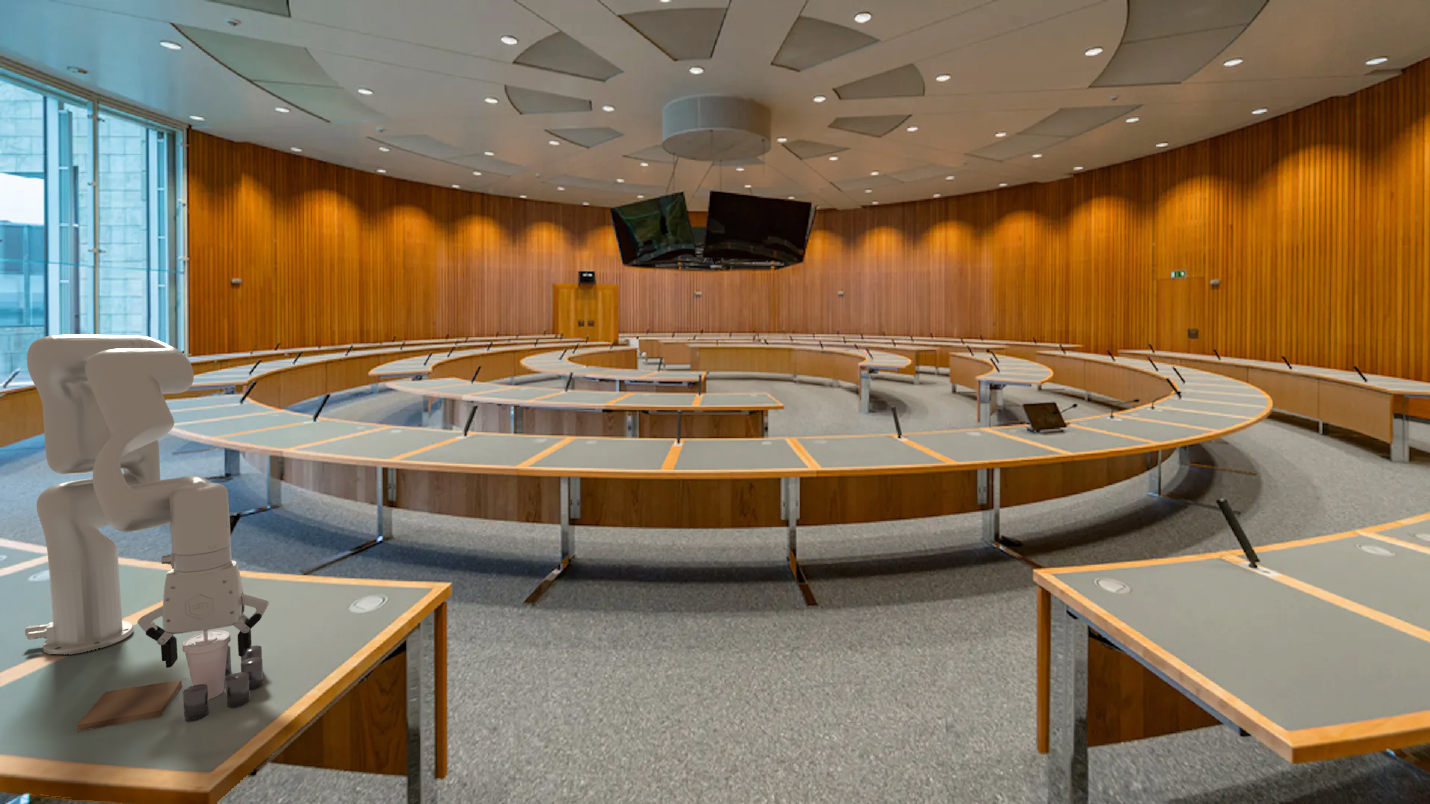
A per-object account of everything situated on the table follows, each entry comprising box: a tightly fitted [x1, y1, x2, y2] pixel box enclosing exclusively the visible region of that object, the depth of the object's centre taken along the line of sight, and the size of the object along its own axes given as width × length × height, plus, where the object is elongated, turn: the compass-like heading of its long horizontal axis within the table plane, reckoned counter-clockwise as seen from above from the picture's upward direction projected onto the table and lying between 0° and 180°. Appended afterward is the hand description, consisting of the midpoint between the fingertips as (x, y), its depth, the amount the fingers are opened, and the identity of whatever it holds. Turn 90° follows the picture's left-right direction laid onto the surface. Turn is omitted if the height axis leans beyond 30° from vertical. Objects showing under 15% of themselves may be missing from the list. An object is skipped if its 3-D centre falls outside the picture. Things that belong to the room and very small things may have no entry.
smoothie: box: [181, 630, 232, 700], centre depth 107 cm, size 6×6×14 cm
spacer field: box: [182, 645, 264, 723], centre depth 109 cm, size 9×17×4 cm, turn 25°
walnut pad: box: [76, 679, 183, 732], centre depth 103 cm, size 10×10×1 cm
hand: (208, 658), depth 107 cm, fingers open, 9 cm apart
